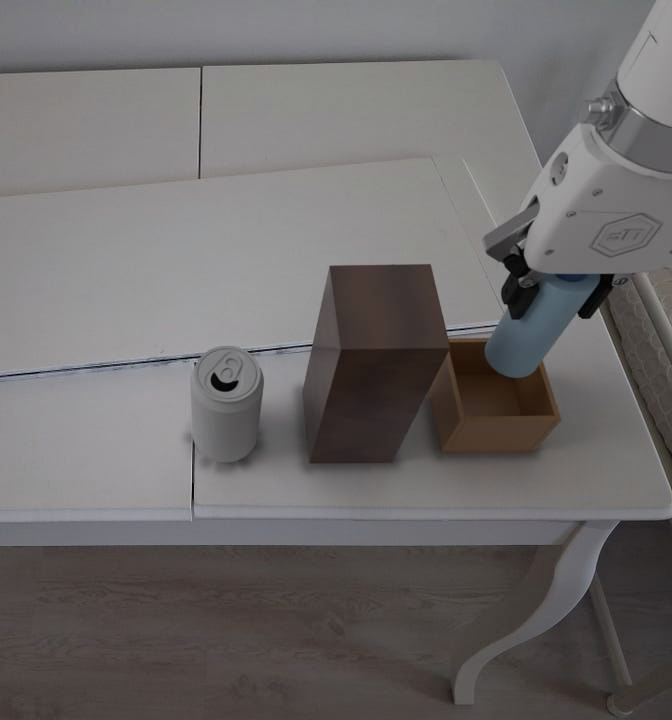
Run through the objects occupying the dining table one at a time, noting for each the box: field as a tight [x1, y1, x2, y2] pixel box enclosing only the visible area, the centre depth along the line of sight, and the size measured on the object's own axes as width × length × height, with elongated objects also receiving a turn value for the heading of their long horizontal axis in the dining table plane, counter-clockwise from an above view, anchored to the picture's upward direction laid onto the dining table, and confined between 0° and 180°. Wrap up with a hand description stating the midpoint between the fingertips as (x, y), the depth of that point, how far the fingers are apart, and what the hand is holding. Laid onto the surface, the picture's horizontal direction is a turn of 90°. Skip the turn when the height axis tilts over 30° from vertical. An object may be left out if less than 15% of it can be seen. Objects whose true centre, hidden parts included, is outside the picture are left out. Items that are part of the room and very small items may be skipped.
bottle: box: [485, 273, 600, 378], centre depth 58 cm, size 5×5×13 cm
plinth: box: [301, 263, 450, 465], centre depth 63 cm, size 8×8×20 cm
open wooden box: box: [428, 337, 562, 453], centre depth 70 cm, size 9×9×6 cm
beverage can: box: [189, 345, 265, 463], centre depth 66 cm, size 6×6×12 cm
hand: (545, 303), depth 57 cm, fingers closed on bottle, 4 cm apart
